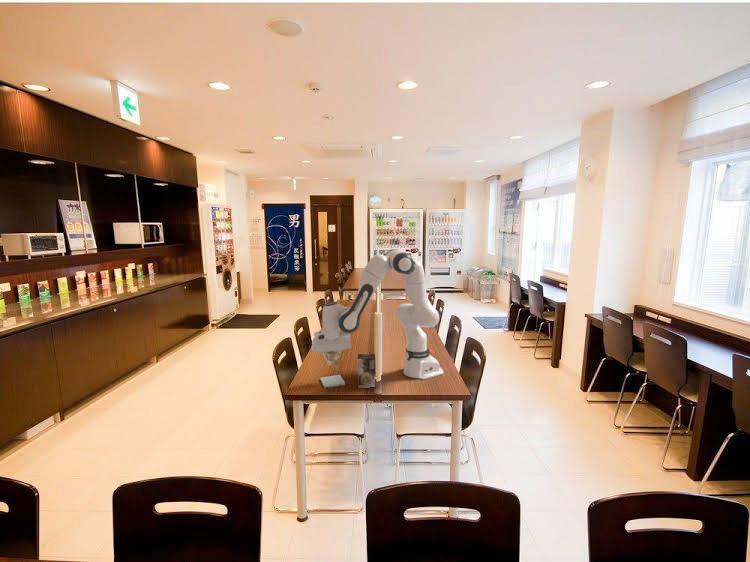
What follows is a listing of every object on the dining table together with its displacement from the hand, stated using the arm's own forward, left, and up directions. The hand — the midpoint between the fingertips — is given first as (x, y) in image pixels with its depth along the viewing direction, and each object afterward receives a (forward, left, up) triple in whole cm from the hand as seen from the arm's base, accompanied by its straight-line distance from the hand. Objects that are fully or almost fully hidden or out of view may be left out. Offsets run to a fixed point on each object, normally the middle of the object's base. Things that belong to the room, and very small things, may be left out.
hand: (331, 358), depth 184 cm
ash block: (0, 0, -3) cm, 3 cm away
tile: (0, 0, -13) cm, 13 cm away
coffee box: (-16, +10, -13) cm, 23 cm away
